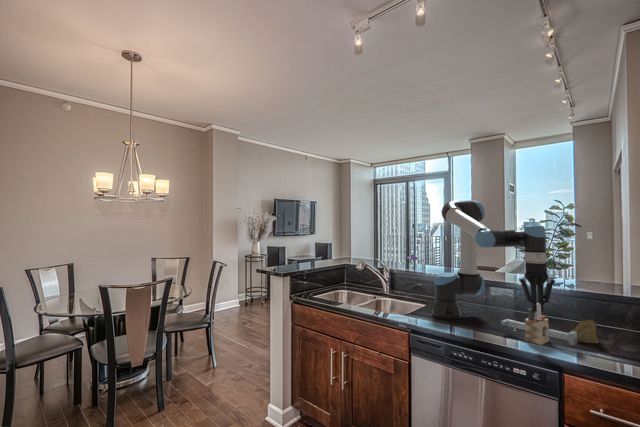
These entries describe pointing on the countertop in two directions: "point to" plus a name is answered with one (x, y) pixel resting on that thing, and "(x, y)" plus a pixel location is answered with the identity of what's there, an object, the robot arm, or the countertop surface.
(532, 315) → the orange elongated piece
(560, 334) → the hook bar
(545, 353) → the countertop surface
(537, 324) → the eye block
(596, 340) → the rock
